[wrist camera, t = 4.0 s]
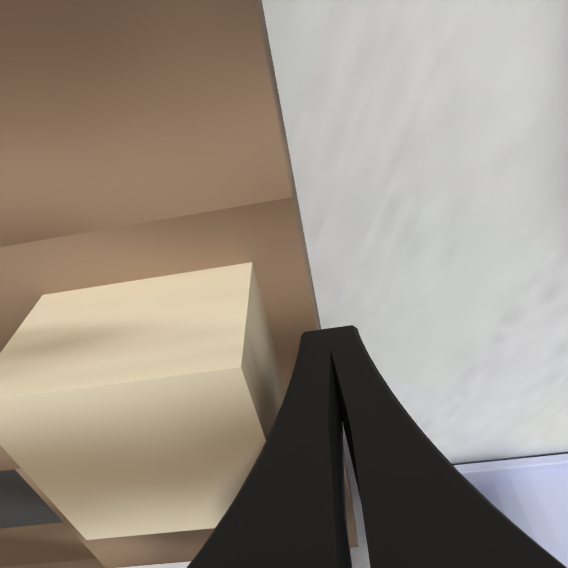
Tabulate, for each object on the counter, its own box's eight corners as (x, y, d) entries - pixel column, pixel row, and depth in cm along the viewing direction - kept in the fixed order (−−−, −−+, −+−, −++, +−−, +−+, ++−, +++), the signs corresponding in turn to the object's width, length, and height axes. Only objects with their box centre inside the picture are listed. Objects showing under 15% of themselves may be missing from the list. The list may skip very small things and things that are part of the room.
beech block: (291, 408, 14) (292, 520, 11) (125, 427, 15) (86, 540, 12) (252, 262, 11) (241, 366, 8) (42, 294, 12) (-37, 403, 9)
